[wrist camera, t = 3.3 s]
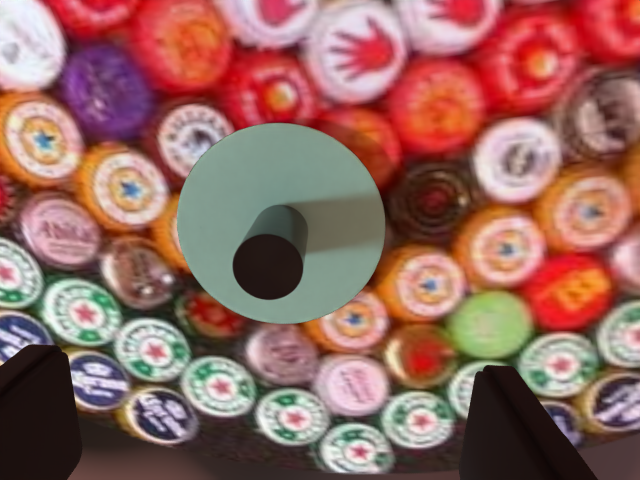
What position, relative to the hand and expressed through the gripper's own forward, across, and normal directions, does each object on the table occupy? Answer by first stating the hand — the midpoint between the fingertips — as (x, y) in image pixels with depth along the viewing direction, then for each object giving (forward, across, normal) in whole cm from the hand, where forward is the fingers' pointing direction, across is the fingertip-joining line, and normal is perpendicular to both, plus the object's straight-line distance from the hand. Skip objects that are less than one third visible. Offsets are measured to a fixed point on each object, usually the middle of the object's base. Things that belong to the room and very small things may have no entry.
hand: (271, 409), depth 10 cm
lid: (+14, +1, 0) cm, 15 cm away
